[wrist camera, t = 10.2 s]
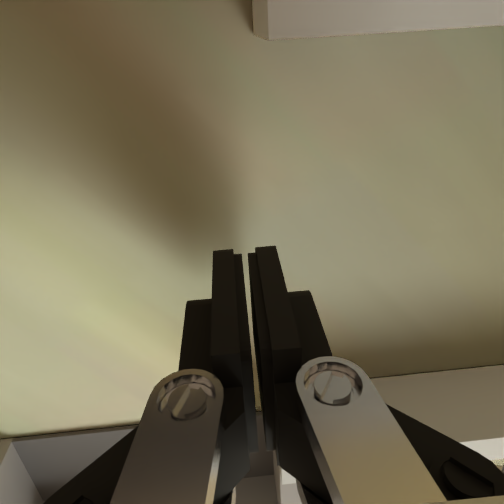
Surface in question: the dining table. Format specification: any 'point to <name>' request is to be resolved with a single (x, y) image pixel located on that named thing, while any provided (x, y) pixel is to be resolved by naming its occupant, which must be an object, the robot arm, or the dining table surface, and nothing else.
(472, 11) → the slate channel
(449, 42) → the dining table surface
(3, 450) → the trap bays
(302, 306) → the robot arm
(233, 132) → the dining table surface
